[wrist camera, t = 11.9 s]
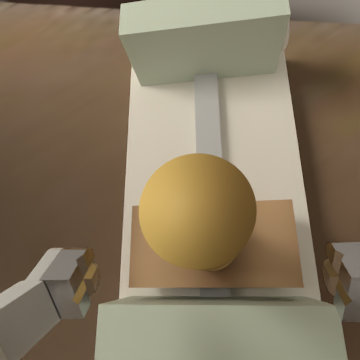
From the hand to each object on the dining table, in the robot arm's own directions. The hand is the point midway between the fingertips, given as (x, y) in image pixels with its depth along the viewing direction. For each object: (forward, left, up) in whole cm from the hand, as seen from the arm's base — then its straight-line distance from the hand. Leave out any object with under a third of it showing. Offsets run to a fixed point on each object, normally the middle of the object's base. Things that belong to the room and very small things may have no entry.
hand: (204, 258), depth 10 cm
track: (0, +7, -13) cm, 15 cm away
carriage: (0, +1, -10) cm, 10 cm away
